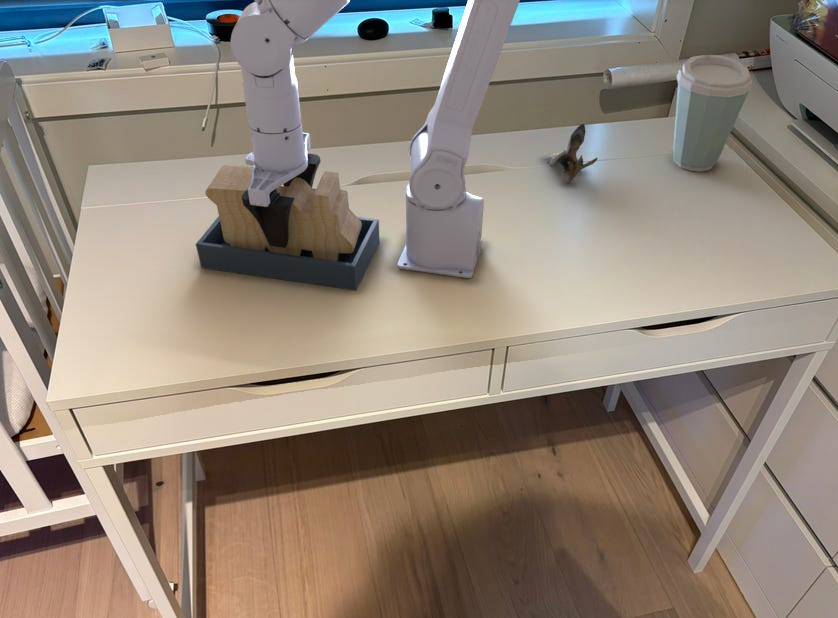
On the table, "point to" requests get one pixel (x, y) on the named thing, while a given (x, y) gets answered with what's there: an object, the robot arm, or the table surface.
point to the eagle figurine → (571, 155)
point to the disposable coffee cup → (707, 108)
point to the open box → (291, 259)
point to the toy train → (308, 220)
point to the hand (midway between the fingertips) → (289, 228)
